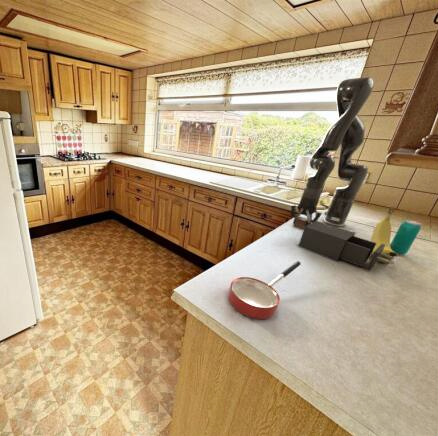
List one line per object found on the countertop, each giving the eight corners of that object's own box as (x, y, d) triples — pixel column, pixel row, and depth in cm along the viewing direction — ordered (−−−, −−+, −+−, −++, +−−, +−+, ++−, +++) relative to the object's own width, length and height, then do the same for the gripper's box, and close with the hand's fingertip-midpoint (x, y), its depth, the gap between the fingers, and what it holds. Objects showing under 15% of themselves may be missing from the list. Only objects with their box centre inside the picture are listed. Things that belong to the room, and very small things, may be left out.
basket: (393, 267, 89) (402, 250, 86) (386, 277, 83) (396, 258, 80) (336, 247, 103) (343, 231, 100) (327, 254, 96) (334, 238, 93)
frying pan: (268, 264, 89) (272, 250, 86) (306, 282, 79) (312, 266, 77) (219, 299, 69) (223, 282, 67) (262, 328, 60) (268, 309, 58)
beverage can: (397, 250, 105) (414, 220, 99) (409, 257, 100) (427, 225, 94) (383, 249, 106) (399, 218, 100) (394, 255, 100) (411, 224, 95)
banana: (396, 272, 88) (423, 224, 80) (376, 267, 91) (400, 220, 83) (379, 248, 106) (400, 207, 98) (363, 244, 109) (382, 204, 101)
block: (297, 224, 128) (300, 216, 126) (307, 228, 124) (310, 219, 122) (293, 226, 125) (296, 218, 123) (303, 230, 121) (306, 221, 119)
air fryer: (346, 252, 101) (355, 232, 97) (337, 261, 94) (346, 240, 90) (309, 239, 111) (316, 220, 108) (298, 245, 104) (304, 226, 100)
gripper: (329, 199, 115) (318, 230, 121) (298, 191, 125) (289, 220, 131) (324, 201, 110) (312, 233, 117) (292, 193, 121) (283, 223, 127)
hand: (300, 226), depth 124 cm, fingers closed on block, 5 cm apart
